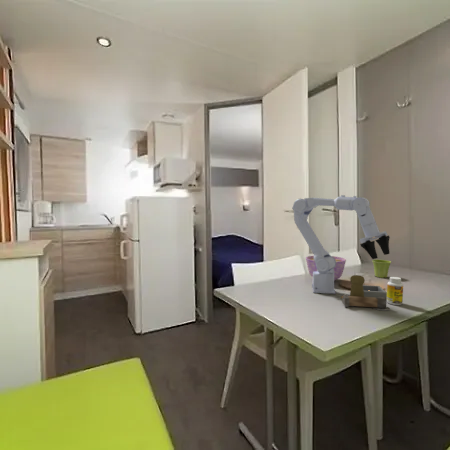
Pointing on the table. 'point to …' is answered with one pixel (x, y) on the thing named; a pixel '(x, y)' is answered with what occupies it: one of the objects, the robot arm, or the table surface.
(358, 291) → the olive rounded piece
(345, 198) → the robot arm
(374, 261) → the plant pot
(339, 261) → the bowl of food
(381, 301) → the crank
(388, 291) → the supplement bottle
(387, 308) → the crank base
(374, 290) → the tray
